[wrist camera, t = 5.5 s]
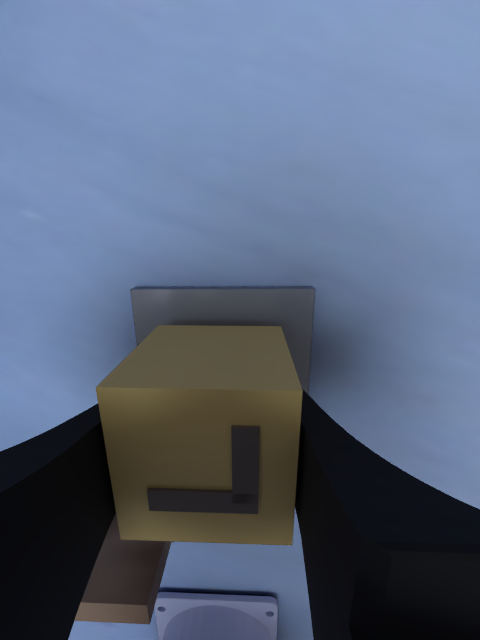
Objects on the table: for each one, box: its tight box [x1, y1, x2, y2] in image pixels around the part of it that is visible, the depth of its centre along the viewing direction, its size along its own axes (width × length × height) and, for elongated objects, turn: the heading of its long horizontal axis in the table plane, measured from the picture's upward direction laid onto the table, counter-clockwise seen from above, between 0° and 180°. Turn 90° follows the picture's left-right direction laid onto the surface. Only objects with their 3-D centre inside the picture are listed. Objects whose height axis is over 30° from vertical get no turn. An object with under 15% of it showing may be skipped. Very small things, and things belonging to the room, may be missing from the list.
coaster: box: [130, 287, 315, 394], centre depth 14 cm, size 8×8×1 cm
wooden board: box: [74, 514, 175, 624], centre depth 15 cm, size 12×4×5 cm, turn 91°
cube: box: [96, 325, 303, 545], centre depth 10 cm, size 5×5×5 cm
